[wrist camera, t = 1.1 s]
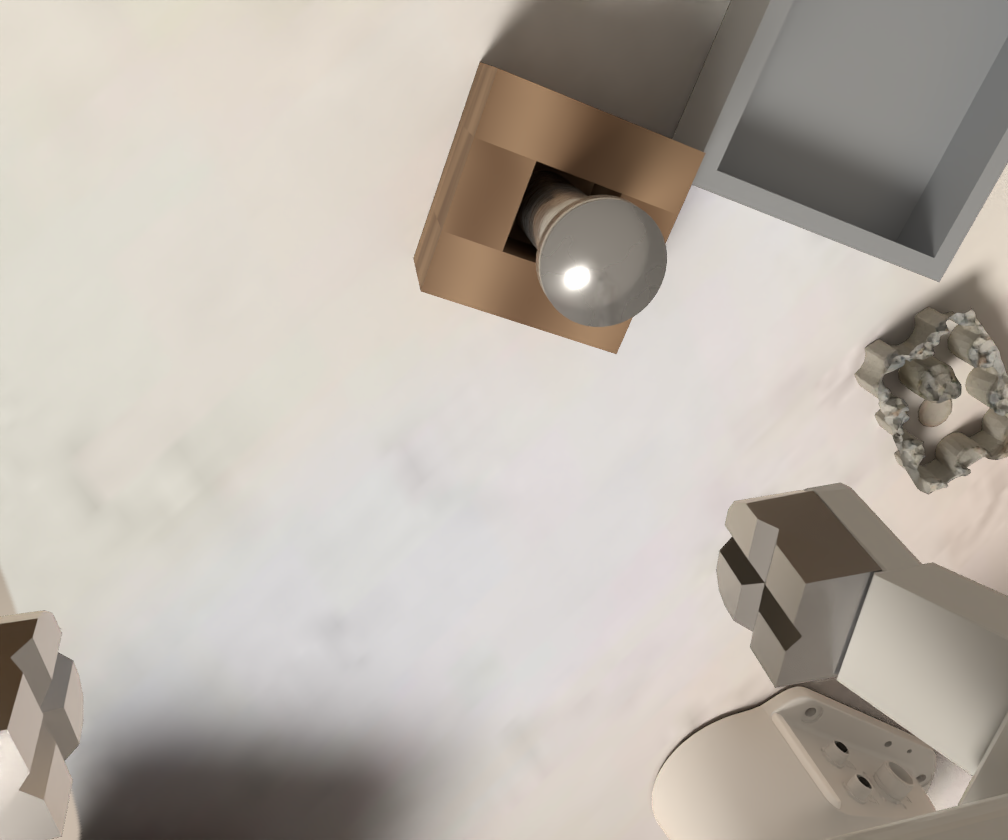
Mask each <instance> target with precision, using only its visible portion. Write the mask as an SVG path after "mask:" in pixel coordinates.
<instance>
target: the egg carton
mask: <svg viewBox="0 0 1008 840" xmlns="http://www.w3.org/2000/svg"><path fill="white" fill-rule="evenodd" d="M949 319H950V320H952V321H953V322H955V323H957V324H958V325H957V326H956V327H955V328H954V329H953V330H952V332H951V334H950V336H949V338H948V349H949V350H950V352H951V353H952V354H953V355H955V356H956V357H958V358H960V359H961V360H963V361H965V362H967V363H968V364H970V365H972V366H973V367H974V368H973V369H972V371H971V372H970V373H969V375H968V377H967V380H966V384H965V386H966V390H967V392H968V393H969V394H970V395H971V396H973V397H974V398H976V399H978V400H979V401H981V402H982V403H984V404H985V405H987V406H988V407H990V409H989V410H988V411H987V412H986V414H985V415H984V417H983V420H982V430H981V431H980V432H978V433H976V434H975V435H973V436H971V437H968V436H966V435H965V434H963V433H960V432H954V433H951V434H949V435H947V436H945V437H944V438H943V439H942V440H941V441H940V442H939V443H938V445H937V447H936V451H935V457H936V458H935V459H934V460H933V461H931V462H929V463H927V464H926V465H923V466H921V465H920V462H921V461H922V459H923V458H925V457H926V456H925V454H924V451H925V450H924V446H923V445H922V444H923V443H924V442H923V441H920V440H919V439H917V438H916V437H914V436H913V435H912V434H910V433H909V432H908V431H906V430H905V429H903V428H902V426H903V423H904V422H906V421H908V420H909V419H910V417H909V416H908V414H907V411H909V408H908V407H907V406H908V405H907V403H906V402H905V401H904V400H903V399H901V398H897V397H896V396H895V395H893V394H892V393H891V391H890V389H889V388H886V387H885V386H884V385H883V382H882V379H883V376H884V375H885V374H887V373H890V372H892V371H895V370H896V369H898V368H900V369H899V372H898V377H899V380H900V382H901V383H902V384H903V385H905V386H906V387H907V388H908V389H910V390H911V391H913V392H914V393H916V394H917V395H919V396H920V397H922V398H924V399H926V400H924V402H923V403H922V404H921V406H920V408H919V411H918V418H919V421H920V422H921V423H922V424H923V425H924V426H927V427H935V426H938V425H940V424H941V423H943V422H944V421H946V419H947V418H948V416H949V415H950V413H951V410H952V401H951V400H950V399H951V398H952V399H956V398H957V397H959V396H960V395H961V384H960V382H959V381H958V380H957V378H956V376H955V374H954V371H953V369H952V368H951V366H949V365H947V364H945V363H944V362H942V361H940V360H938V359H937V358H935V357H933V354H934V351H933V347H934V346H937V345H938V344H939V343H940V337H941V335H943V334H947V333H949V330H948V328H947V325H946V321H947V320H949ZM865 353H866V354H865V360H864V363H863V365H862V366H861V368H860V369H859V370H858V371H857V372H856V373H855V378H856V380H857V382H858V383H859V385H860V386H861V387H863V388H864V389H865V390H867V391H868V392H870V393H871V394H872V395H873V396H875V397H877V398H878V399H879V406H880V410H879V411H878V412H877V413H876V414H875V418H876V420H877V422H878V424H879V425H880V426H881V427H882V428H883V429H885V430H886V431H887V432H889V433H890V434H892V436H893V439H894V441H895V443H896V446H897V448H898V451H896V452H895V453H894V455H895V458H896V460H897V462H898V463H899V465H900V466H902V467H903V468H905V469H906V471H907V472H908V474H909V476H910V477H911V479H912V480H913V482H914V484H915V485H916V487H917V488H918V489H919V490H920V491H922V492H924V493H927V494H930V493H932V492H933V491H935V490H938V489H941V488H945V487H948V485H947V483H949V482H950V481H951V480H953V479H955V478H957V477H959V476H967V475H968V474H970V473H971V472H970V469H968V468H967V467H968V466H970V465H971V464H973V463H975V462H976V461H978V460H979V459H981V458H982V457H986V458H988V459H993V460H999V459H1002V458H1005V457H1008V375H1007V373H1006V370H1005V367H1004V365H1003V362H1002V360H1001V356H1000V352H999V349H998V348H997V347H996V345H995V344H994V342H993V340H992V339H991V337H990V336H989V335H988V333H987V332H986V331H985V330H984V328H983V326H982V325H981V323H980V322H979V321H978V320H977V319H976V314H975V312H974V310H973V309H972V308H971V307H970V310H969V311H968V312H966V313H954V312H948V313H945V314H942V313H940V312H938V311H936V310H934V309H932V308H930V307H927V308H925V309H924V310H922V311H921V312H919V313H917V314H916V315H915V327H914V331H913V333H912V334H911V336H910V337H909V338H908V339H907V340H906V341H905V342H903V343H901V344H899V345H888V344H887V343H885V342H884V341H882V340H881V339H878V340H876V341H875V342H873V343H872V344H870V345H868V346H867V347H866V348H865Z"/></svg>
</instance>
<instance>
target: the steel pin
mask: <svg viewBox="0 0 1008 840" xmlns="http://www.w3.org/2000/svg"><path fill="white" fill-rule="evenodd" d="M515 221H516V223H517V224H518V225H519V227H520V228H521V229H522V231H523V232H524V233H525V234H526V236H527V237H528V238H529V240H530V241H531V242H532V244H533V245H534V246H535V247H536V249H537V253H536V271H537V276H538V280H539V283H540V285H541V287H542V289H543V291H544V293H545V295H546V296H547V298H548V299H549V301H550V302H551V303H552V305H553V306H554V307H555V308H556V309H557V310H558V311H559V313H561V314H562V315H563V316H565V317H566V318H568V319H569V320H571V321H573V322H576V323H578V324H581V325H585V326H591V327H606V326H612V325H616V324H619V323H622V322H624V321H627V320H628V319H630V318H632V317H634V316H635V315H637V314H638V313H639V312H641V311H642V310H643V309H644V308H645V307H646V306H647V305H648V304H649V303H650V302H651V300H652V299H653V298H654V296H655V295H656V293H657V292H658V290H659V288H660V286H661V284H662V281H663V278H664V275H665V271H666V264H667V252H666V245H665V241H664V238H663V235H662V233H661V231H660V229H659V227H658V225H657V224H656V222H655V221H654V220H653V219H652V218H651V217H650V216H649V215H648V214H647V213H646V212H645V211H643V210H642V209H640V208H639V207H637V206H636V205H634V204H633V203H631V202H630V201H628V200H625V199H623V198H620V197H617V196H612V195H593V196H587V195H586V194H584V193H583V192H582V191H580V190H579V189H578V188H577V187H575V186H574V185H573V184H571V183H570V182H569V181H567V180H566V179H565V178H564V177H562V176H561V175H559V174H557V173H555V172H552V171H545V170H542V171H536V172H533V173H532V174H531V177H530V179H529V182H528V185H527V187H526V190H525V193H524V195H523V198H522V201H521V203H520V206H519V209H518V211H517V214H516V217H515Z"/></svg>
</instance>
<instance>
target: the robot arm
mask: <svg viewBox="0 0 1008 840" xmlns="http://www.w3.org/2000/svg"><path fill="white" fill-rule="evenodd" d="M725 526H726V528H727V529H728V530H729V532H730V533H731V535H732V537H731V539H730V540H729V541H728V542H727V543H726V544H725V545H724V546H723V547H722V548H721V549H720V551H719V556H718V562H717V569H716V572H717V579H718V587H719V592H720V594H721V597H722V600H723V602H724V605H725V607H726V609H727V610H728V612H729V614H730V615H731V617H732V619H733V620H734V621H735V622H737V623H739V624H740V625H742V626H744V627H746V628H747V629H749V630H751V631H752V632H753V633H752V638H751V644H750V648H751V650H752V651H753V653H754V654H755V656H756V658H757V659H758V661H759V662H760V664H761V666H762V667H763V669H764V670H765V672H766V674H767V675H768V677H769V678H770V680H771V682H772V683H773V685H774V686H775V688H777V687H783V686H788V685H794V684H800V683H805V682H811V681H816V680H822V679H828V678H833V677H837V681H838V682H840V683H841V684H843V685H844V686H845V687H847V688H848V689H850V690H851V691H853V692H854V693H855V694H857V695H858V696H860V697H861V698H862V699H864V700H865V701H867V702H868V703H870V704H871V705H872V706H874V707H875V708H877V709H878V710H879V711H881V712H882V713H884V714H885V715H887V716H888V717H889V718H891V719H892V720H894V721H895V722H896V723H898V724H899V725H901V726H902V727H904V728H905V729H906V730H908V731H909V732H911V733H912V734H913V735H911V734H909V733H907V732H905V731H902V730H900V729H898V728H896V727H893V726H891V725H889V724H887V723H884V722H882V721H880V720H878V719H875V718H873V717H871V716H869V715H866V714H864V713H862V712H860V711H857V710H855V709H853V708H851V707H848V706H846V705H844V704H842V703H839V702H837V701H835V700H833V699H830V698H828V697H826V696H824V695H821V694H819V693H817V692H815V691H812V690H810V689H808V688H805V687H801V686H797V687H792V688H790V689H787V690H785V691H783V692H782V693H780V694H778V695H776V696H775V697H773V698H772V699H770V700H769V701H767V702H766V703H764V704H763V705H761V706H759V707H756V708H754V709H751V710H748V711H744V712H741V713H738V714H734V715H731V716H728V717H726V718H723V719H721V720H718V721H716V722H714V723H712V724H710V725H708V726H706V727H704V728H703V729H701V730H700V731H698V732H697V733H695V734H694V735H692V736H691V737H690V738H688V739H687V740H686V741H685V742H683V743H682V744H681V745H680V746H679V747H678V748H677V749H676V750H675V751H674V752H673V753H672V754H671V756H670V757H669V758H668V759H667V761H666V762H665V764H664V765H663V767H662V768H661V770H660V772H659V774H658V776H657V778H656V781H655V784H654V787H653V792H652V809H653V813H654V816H655V819H656V821H657V823H658V824H659V826H660V827H661V829H662V830H663V831H664V833H665V834H666V835H667V837H668V838H669V840H1008V596H1006V595H1004V594H1001V593H999V592H997V591H995V590H993V589H990V588H988V587H986V586H984V585H981V584H979V583H977V582H975V581H973V580H970V579H968V578H966V577H964V576H962V575H959V574H957V573H955V572H953V571H950V570H948V569H946V568H944V567H942V566H939V565H937V564H935V563H927V564H922V563H921V562H920V561H919V560H918V559H917V558H916V557H915V556H914V555H913V554H912V553H911V552H910V551H909V549H908V548H907V547H906V546H905V545H904V544H903V543H902V542H901V541H900V540H899V539H898V538H897V537H896V536H895V534H894V533H893V532H892V531H891V530H890V529H889V528H888V527H887V526H886V525H885V524H884V523H883V522H882V520H881V519H880V518H879V517H878V516H877V515H876V514H875V513H874V512H873V511H872V510H871V509H870V508H869V506H868V505H867V504H866V503H865V502H864V501H863V500H862V499H861V498H860V497H859V496H858V495H857V494H856V492H855V491H854V490H853V489H852V488H850V487H849V486H847V485H845V484H842V483H836V484H830V485H824V486H818V487H813V488H807V489H805V490H797V491H791V492H785V493H779V494H773V495H767V496H761V497H755V498H749V499H743V500H737V501H734V502H733V504H732V505H731V506H730V508H729V509H728V513H727V517H726V521H725ZM61 636H62V632H61V630H60V628H59V625H58V623H57V621H56V619H55V617H54V615H53V613H52V612H48V611H45V610H43V611H35V612H28V613H21V614H13V615H6V616H0V840H50V839H54V838H58V837H62V834H63V828H64V823H65V818H66V813H67V808H68V803H69V797H70V792H71V787H72V782H73V779H72V777H71V775H70V773H69V770H68V768H67V766H66V764H65V760H66V759H67V758H68V756H69V755H70V754H71V753H72V752H73V751H74V750H75V749H76V748H77V746H78V745H79V744H80V738H81V732H82V726H83V692H82V687H81V682H80V677H79V674H78V671H77V669H76V666H75V664H74V661H73V660H71V659H69V658H68V657H66V656H64V655H62V654H60V653H58V650H59V645H60V641H61ZM914 735H915V736H914ZM933 749H935V750H936V751H938V752H939V753H940V754H942V755H943V756H945V757H946V758H947V759H949V760H950V761H952V762H953V763H955V764H956V765H957V766H959V767H960V768H962V769H963V770H964V771H966V772H967V773H969V774H970V775H972V776H973V777H972V779H971V781H970V783H969V785H968V786H967V788H966V790H965V792H964V794H963V796H962V798H961V799H960V801H959V803H958V806H955V807H951V808H947V809H943V810H939V811H936V810H935V808H934V806H933V804H932V802H931V801H930V799H929V797H928V796H927V794H926V793H927V791H928V789H929V787H930V785H931V782H932V779H933V776H934V772H935V767H936V753H935V751H934V750H933Z"/></svg>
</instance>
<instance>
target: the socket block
mask: <svg viewBox="0 0 1008 840" xmlns="http://www.w3.org/2000/svg"><path fill="white" fill-rule="evenodd" d="M704 156H705V153H704V152H702V151H699V150H697V149H695V148H692V147H690V146H687V145H685V144H682V143H680V142H677V141H675V140H673V139H670V138H668V137H665V136H663V135H660V134H658V133H655V132H653V131H650V130H648V129H646V128H643V127H641V126H638V125H636V124H633V123H631V122H628V121H626V120H624V119H621V118H619V117H616V116H614V115H611V114H609V113H606V112H604V111H602V110H599V109H597V108H594V107H592V106H589V105H587V104H584V103H582V102H580V101H577V100H575V99H572V98H570V97H567V96H565V95H562V94H560V93H558V92H555V91H553V90H550V89H548V88H545V87H543V86H540V85H538V84H535V83H533V82H531V81H528V80H526V79H523V78H521V77H518V76H516V75H513V74H511V73H509V72H506V71H504V70H501V69H499V68H496V67H493V66H490V65H487V64H484V63H481V62H480V63H479V66H478V69H477V72H476V75H475V78H474V81H473V84H472V87H471V90H470V92H469V95H468V98H467V101H466V104H465V107H464V110H463V113H462V116H461V119H460V122H459V125H458V128H457V131H456V134H455V137H454V140H453V143H452V146H451V149H450V152H449V155H448V158H447V161H446V164H445V166H444V169H443V172H442V175H441V178H440V181H439V184H438V187H437V190H436V193H435V196H434V199H433V202H432V205H431V208H430V211H429V214H428V217H427V220H426V223H425V226H424V229H423V232H422V235H421V238H420V240H419V243H418V246H417V249H416V252H415V255H414V263H415V267H416V272H417V276H418V281H419V285H420V290H421V291H422V292H425V293H428V294H431V295H434V296H437V297H440V298H443V299H447V300H450V301H453V302H456V303H459V304H462V305H465V306H468V307H471V308H475V309H478V310H481V311H484V312H487V313H490V314H493V315H496V316H499V317H503V318H506V319H509V320H512V321H515V322H518V323H521V324H524V325H527V326H531V327H534V328H537V329H540V330H543V331H546V332H549V333H552V334H555V335H559V336H562V337H565V338H568V339H571V340H574V341H577V342H580V343H583V344H587V345H590V346H593V347H596V348H599V349H602V350H605V351H608V352H611V353H615V354H617V351H618V349H619V347H620V345H621V342H622V340H623V338H624V336H625V333H626V331H627V329H628V327H629V324H630V322H631V320H632V318H633V317H632V318H630V319H628V320H627V321H624V322H622V323H619V324H616V325H612V326H606V327H591V326H585V325H581V324H578V323H576V322H573V321H571V320H569V319H568V318H566V317H565V316H563V315H562V314H561V313H559V311H558V310H557V309H556V308H555V307H554V306H553V305H552V303H551V302H550V301H549V299H548V298H547V296H546V295H545V293H544V291H543V289H542V287H541V285H540V283H539V280H538V276H537V271H536V253H537V249H536V247H535V246H534V245H533V244H532V242H531V241H530V240H529V238H528V237H527V236H526V234H525V233H524V232H523V231H522V229H521V228H520V227H519V225H518V224H517V223H516V221H515V217H516V214H517V211H518V209H519V206H520V203H521V201H522V198H523V195H524V193H525V190H526V187H527V185H528V182H529V179H530V177H531V174H532V173H533V172H536V171H542V170H545V171H552V172H555V173H557V174H559V175H561V176H562V177H564V178H565V179H566V180H567V181H569V182H570V183H571V184H573V185H574V186H575V187H577V188H578V189H579V190H580V191H582V192H583V193H584V194H586V195H587V196H593V195H612V196H617V197H620V198H623V199H625V200H628V201H630V202H631V203H633V204H634V205H636V206H637V207H639V208H640V209H642V210H643V211H645V212H646V213H647V214H648V215H649V216H650V217H651V218H652V219H653V220H654V221H655V222H656V224H657V225H658V227H659V229H660V231H661V233H662V235H663V238H664V241H665V243H666V241H667V239H668V237H669V234H670V232H671V230H672V228H673V225H674V223H675V221H676V219H677V216H678V214H679V212H680V210H681V207H682V205H683V203H684V201H685V198H686V196H687V194H688V192H689V189H690V187H691V185H692V183H693V180H694V178H695V176H696V174H697V171H698V169H699V167H700V165H701V162H702V160H703V158H704Z"/></svg>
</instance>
